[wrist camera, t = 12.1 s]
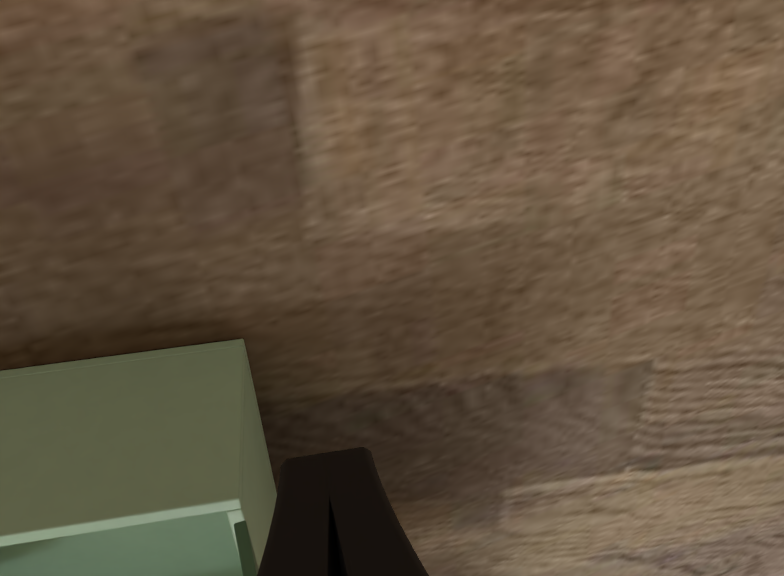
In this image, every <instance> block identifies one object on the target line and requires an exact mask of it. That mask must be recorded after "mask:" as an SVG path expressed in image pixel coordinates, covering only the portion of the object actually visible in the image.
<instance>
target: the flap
mask: <svg viewBox="0 0 784 576" xmlns="http://www.w3.org/2000/svg"><path fill="white" fill-rule="evenodd" d="M234 530H235V536H236V541H237V547H238V552H239V558H240V563H241V569H242V574H243V576H257V574H258V570H259V568H258V564H257V561H256V557H255V553H254V549H253V546H252V542H251V538H250V534H249V530H248V527H247V523H246V521H245V520H244V521H241V522H237V523H235V524H234Z"/></svg>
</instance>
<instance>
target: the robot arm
mask: <svg viewBox="0 0 784 576" xmlns="http://www.w3.org/2000/svg"><path fill="white" fill-rule="evenodd" d="M257 576H429V575H428V574H427V572H426V570H425V569H424V567H423V565H422V563H421V561H420V560H419V558H418V556H417V554H416V553H415V551H414V549H413V547H412V545H411V544H410V542H409V540H408V538H407V536H406V535H405V533H404V531H403V529H402V527H401V525H400V523H399V521H398V519H397V517H396V515H395V513H394V510H393V508H392V506H391V504H390V502H389V500H388V498H387V495H386V493H385V491H384V488H383V486H382V484H381V481H380V479H379V476H378V473H377V470H376V467H375V465H374V461H373V458H372V454H371V451H370V450H368V449H366V448H364V447H360V448H354V449H347V450H341V451H335V452H328V453H322V454H315V455H309V456H303V457H296V458H290V459H286V460H285V461H284V462H283V463H282V464H281V468H280V479H279V486H278V492H277V498H276V503H275V508H274V513H273V518H272V522H271V526H270V530H269V534H268V538H267V542H266V546H265V549H264V553H263V556H262V560H261V563H260V567H259V570H258V574H257Z"/></svg>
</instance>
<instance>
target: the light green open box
mask: <svg viewBox="0 0 784 576" xmlns="http://www.w3.org/2000/svg"><path fill="white" fill-rule="evenodd" d="M276 498H277V492H276V488H275V483H274V478H273V474H272V469H271V464H270V460H269V455H268V450H267V446H266V441H265V436H264V432H263V427H262V422H261V418H260V413H259V408H258V404H257V399H256V394H255V390H254V385H253V380H252V376H251V371H250V366H249V362H248V357H247V352H246V348H245V343H244V339H237V340H229V341H222V342H214V343H206V344H199V345H191V346H184V347H176V348H169V349H161V350H154V351H146V352H138V353H131V354H123V355H116V356H108V357H101V358H93V359H85V360H78V361H70V362H63V363H55V364H48V365H40V366H33V367H25V368H17V369H10V370H2V371H0V576H243V574H242V569H241V563H240V558H239V552H238V547H237V541H236V536H235V530H234V524H235V523H237V522H241V521H244V520H245V521H246V523H247V527H248V530H249V534H250V538H251V542H252V546H253V549H254V553H255V557H256V561H257V564H258V568H259V567H260V563H261V560H262V556H263V553H264V549H265V546H266V542H267V538H268V534H269V530H270V526H271V522H272V518H273V513H274V508H275V503H276Z"/></svg>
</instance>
